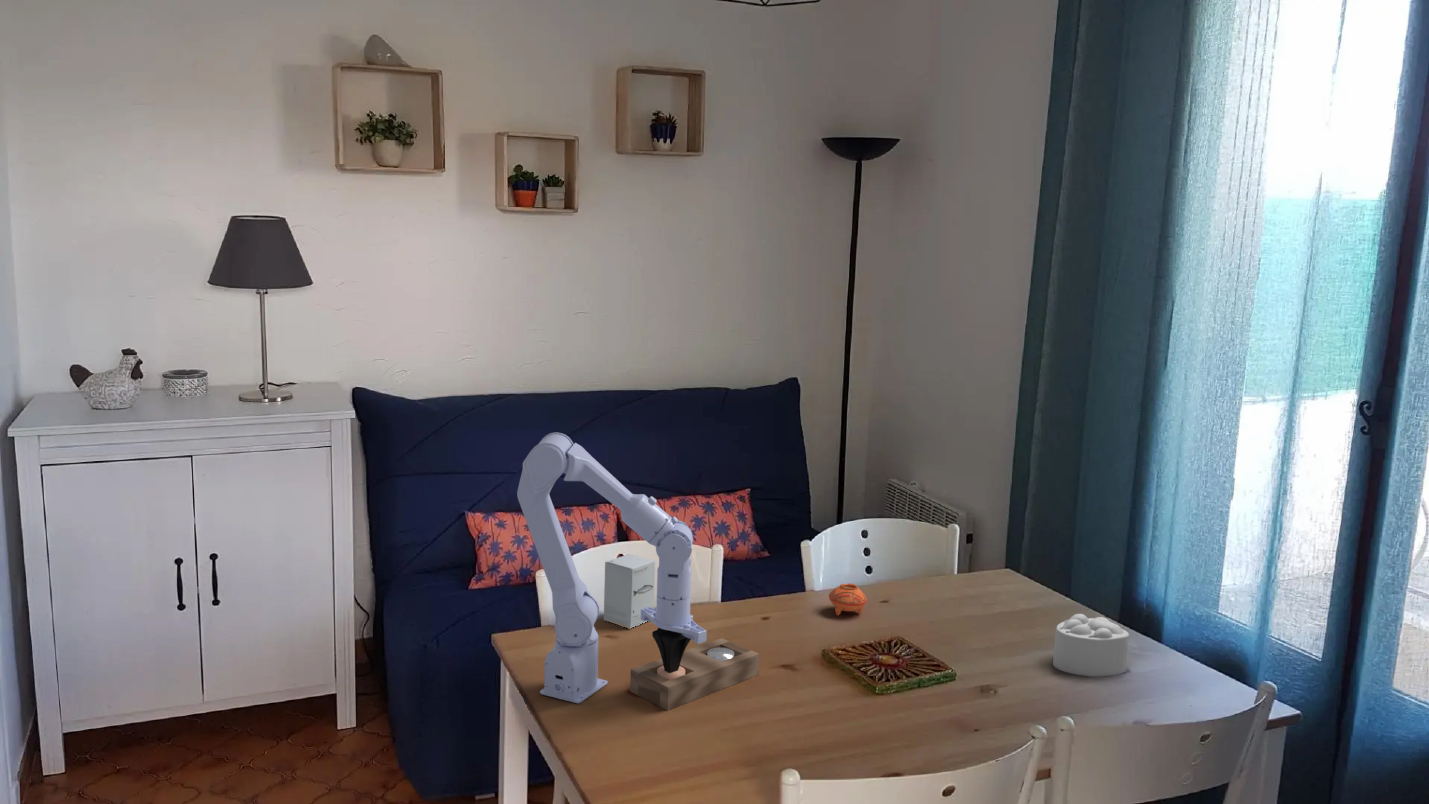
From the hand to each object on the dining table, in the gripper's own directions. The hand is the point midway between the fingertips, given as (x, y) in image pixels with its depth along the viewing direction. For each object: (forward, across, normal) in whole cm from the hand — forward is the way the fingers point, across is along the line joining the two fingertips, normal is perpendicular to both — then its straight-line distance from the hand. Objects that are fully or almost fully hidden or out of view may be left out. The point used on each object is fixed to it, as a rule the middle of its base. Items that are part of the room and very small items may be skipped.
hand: (671, 670), depth 188 cm
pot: (+4, +5, -54) cm, 55 cm away
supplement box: (+4, +30, -16) cm, 35 cm away
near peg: (+4, 0, 0) cm, 4 cm away
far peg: (+4, 0, -12) cm, 13 cm away
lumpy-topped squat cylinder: (+4, -42, -68) cm, 80 cm away
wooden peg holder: (+4, 0, -6) cm, 7 cm away
